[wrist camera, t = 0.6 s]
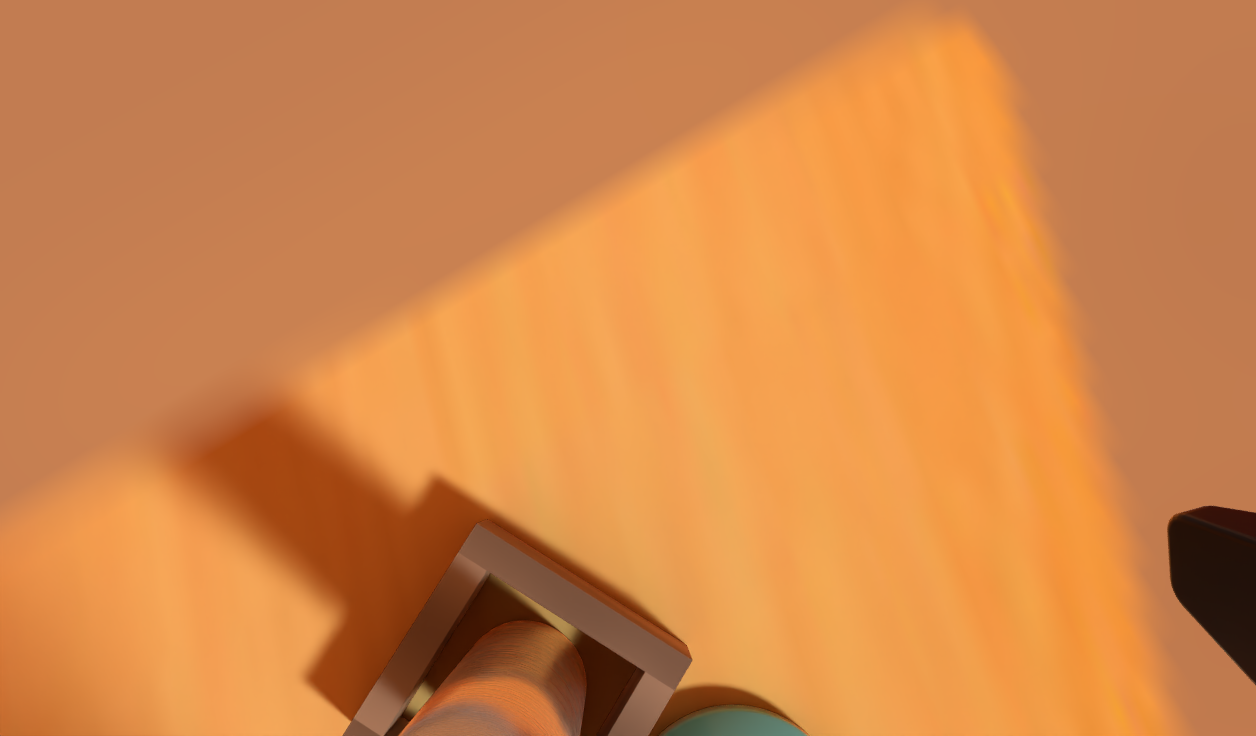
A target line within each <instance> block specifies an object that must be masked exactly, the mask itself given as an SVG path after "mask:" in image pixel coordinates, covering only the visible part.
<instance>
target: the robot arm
mask: <svg viewBox="0 0 1256 736" xmlns="http://www.w3.org/2000/svg"><path fill="white" fill-rule="evenodd" d="M1167 532H1168V549H1169V565H1170V580H1171V585H1172V588H1173V591H1174V593H1175V595H1176V597H1177V598H1178V600H1179V601H1180V603H1181V604H1182V605H1183V607H1184V608H1185V609H1186V610H1187V611H1188V612H1189V613H1190V614H1191V615H1192V616H1193V617H1194V618H1195V620H1196V621H1197V622H1198V623H1199V624H1200V625H1201V626H1202V627H1203V628H1204V629H1205V631H1206V632H1207V633H1208V634H1209V635H1210V636H1211V637H1212V638H1213V639H1214V640H1215V641H1216V642H1217V644H1218V645H1219V646H1220V647H1221V648H1222V649H1223V650H1224V651H1225V652H1226V653H1227V655H1228V656H1229V657H1230V658H1231V659H1232V660H1233V661H1234V662H1235V663H1236V664H1237V665H1238V667H1239V668H1240V669H1241V670H1242V671H1243V672H1244V673H1245V674H1246V675H1247V676H1248V677H1249V678H1250V680H1251V681H1252V682H1253V683H1254V684H1255V685H1256V513H1254V512H1248V511H1242V510H1235V509H1230V508H1223V507H1217V506H1203V507H1200V508H1196V509H1193V510H1189V511H1186V512H1181V513H1178V514H1175V515H1174V516H1173V517H1172V518H1171V519H1170V520H1169V523H1168V528H1167Z"/></svg>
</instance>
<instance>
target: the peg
mask: <svg viewBox="0 0 1256 736" xmlns="http://www.w3.org/2000/svg"><path fill="white" fill-rule="evenodd" d="M586 689H587V682H586V673H585V668H584V665H583V662H582V659H581V657H580V655H579V653H578V651H577V650H576V648H575V647H574V645H573V644H572V643H571V642H570V640H569V639H568V638H567V637H566V636H565V635H563V634H562V633H561V632H559V631H558V630H556V629H555V628H553V627H551V626H549V625H546V624H544V623H540V622H536V621H529V620H519V621H512V622H508V623H505V624H501V625H499V626H497V627H495V628H493V629H492V630H490V631H489V632H487V633H486V634H485V635H483V636H482V637H481V638H480V639H479V640H478V641H477V642H476V643H475V644H474V646H473V647H472V648H471V649H470V650H469V652H468V653H467V654H466V655H465V656H464V658H463V659H462V660H461V661H460V662H459V664H458V665H457V666H456V667H455V668H454V670H453V671H452V672H451V673H450V674H449V676H448V677H447V678H446V679H445V680H444V682H443V683H442V684H441V685H440V686H439V688H438V689H437V690H436V691H435V692H434V694H433V695H432V696H431V697H430V698H429V700H428V701H427V702H426V703H425V704H424V706H423V707H422V708H421V709H420V710H419V712H418V713H417V714H416V715H415V716H414V718H413V719H412V720H411V721H410V722H409V724H408V725H407V726H406V727H405V728H404V730H403V731H402V732H401V733H400V734H399V736H580V731H581V725H582V718H583V711H584V705H585V698H586Z"/></svg>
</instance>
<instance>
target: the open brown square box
mask: <svg viewBox="0 0 1256 736" xmlns="http://www.w3.org/2000/svg"><path fill="white" fill-rule="evenodd" d="M490 573H491V574H493V575H494V576H496V577H497V578H499V579H501V580H502V581H504V582H505V583H507V584H508V585H510V586H512V587H513V588H515V589H516V590H518V591H519V592H521V593H522V594H524V595H526V596H527V597H529V598H530V599H532V600H533V601H535V602H537V603H538V604H540V605H541V606H543V607H544V608H546V609H548V610H549V611H551V612H552V613H554V614H555V615H557V616H559V617H560V618H562V619H563V620H565V621H566V622H568V623H569V624H571V625H573V626H574V627H576V628H577V629H579V630H580V631H582V632H584V633H585V634H587V635H588V636H590V637H591V638H593V639H595V640H596V641H598V642H599V643H601V644H602V645H604V646H606V647H607V648H609V649H610V650H612V651H613V652H615V653H616V654H618V655H620V656H621V657H623V658H624V659H626V660H627V661H629V662H631V663H632V664H634V665H635V666H637V668H636V669H635V671H634V673H633V674H632V676H631V678H630V680H629V681H628V683H627V685H626V686H625V688H624V690H623V691H622V693H621V695H620V696H619V698H618V700H617V701H616V703H615V705H614V707H613V708H612V710H611V712H610V713H609V715H608V717H607V718H606V720H605V722H604V723H603V725H602V727H601V728H600V730H599V732H598V734H597V735H596V736H648V735H649V734H650V732H651V730H652V729H653V727H654V725H655V723H656V722H657V720H658V718H659V717H660V715H661V713H662V711H663V710H664V708H665V706H666V705H667V703H668V701H669V699H670V698H671V696H672V694H673V693H674V691H675V689H676V687H677V686H678V684H679V682H680V681H681V679H682V677H683V675H684V674H685V672H686V670H687V669H688V667H689V665H690V664H691V662H692V658H691V655H690V652H689V650H688V647H687V645H685V644H684V643H682V642H681V641H679V640H678V639H676V638H674V637H673V636H671V635H670V634H668V633H666V632H665V631H663V630H662V629H660V628H659V627H657V626H655V625H654V624H652V623H651V622H649V621H648V620H646V619H644V618H643V617H641V616H640V615H638V614H637V613H635V612H633V611H632V610H630V609H629V608H627V607H625V606H624V605H622V604H621V603H619V602H618V601H616V600H614V599H613V598H611V597H610V596H608V595H607V594H605V593H603V592H602V591H600V590H599V589H597V588H595V587H594V586H592V585H591V584H589V583H588V582H586V581H584V580H583V579H581V578H580V577H578V576H577V575H575V574H573V573H572V572H570V571H569V570H567V569H566V568H564V567H562V566H561V565H559V564H558V563H556V562H554V561H553V560H551V559H550V558H548V557H547V556H545V555H543V554H542V553H540V552H539V551H537V550H536V549H534V548H532V547H531V546H529V545H528V544H526V543H524V542H523V541H521V540H520V539H518V538H517V537H515V536H513V535H512V534H510V533H509V532H507V531H506V530H504V529H502V528H501V527H499V526H498V525H496V524H495V523H493V522H491V521H490V520H488V519H487V520H484V521H481V522H479V523H476V525H475V527H474V528H473V530H472V531H471V533H470V535H469V536H468V538H467V539H466V541H465V543H464V544H463V546H462V547H461V549H460V550H459V552H458V554H457V555H456V557H455V558H454V560H453V562H452V563H451V565H450V566H449V568H448V569H447V571H446V573H445V574H444V576H443V577H442V579H441V581H440V582H439V584H438V585H437V587H436V588H435V590H434V592H433V593H432V595H431V596H430V598H429V600H428V601H427V603H426V604H425V606H424V607H423V609H422V611H421V612H420V614H419V615H418V617H417V619H416V620H415V622H414V623H413V625H412V626H411V628H410V630H409V631H408V633H407V634H406V636H405V638H404V639H403V641H402V642H401V644H400V645H399V647H398V649H397V650H396V652H395V653H394V655H393V657H392V658H391V660H390V661H389V663H388V664H387V666H386V668H385V669H384V671H383V672H382V674H381V676H380V677H379V679H378V680H377V682H376V683H375V685H374V687H373V688H372V690H371V691H370V693H369V695H368V696H367V698H366V699H365V701H364V702H363V704H362V706H361V707H360V709H359V710H358V712H357V714H356V715H355V717H354V718H353V720H352V721H351V723H350V725H349V726H348V728H347V729H346V731H345V733H344V734H343V736H399V734H400V733H401V732H402V731H403V730H404V728H405V727H406V726H407V725H408V724H409V721H408V720H406V719H405V718H403V717H402V714H403V712H404V711H405V709H406V708H407V706H408V704H409V703H410V701H411V700H412V698H413V696H414V695H415V693H416V692H417V690H418V688H419V687H420V685H421V684H422V682H423V680H424V679H425V677H426V676H427V674H428V672H429V671H430V669H431V667H432V666H433V664H434V663H435V661H436V659H437V658H438V656H439V655H440V653H441V651H442V650H443V648H444V647H445V645H446V643H447V642H448V640H449V639H450V637H451V635H452V634H453V632H454V631H455V629H456V627H457V626H458V624H459V623H460V621H461V619H462V618H463V616H464V615H465V613H466V611H467V610H468V608H469V607H470V605H471V603H472V602H473V600H474V599H475V597H476V595H477V594H478V592H479V591H480V589H481V587H482V586H483V584H484V583H485V581H486V579H487V578H488V576H489V575H490Z"/></svg>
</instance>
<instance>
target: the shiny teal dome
mask: <svg viewBox="0 0 1256 736" xmlns="http://www.w3.org/2000/svg"><path fill="white" fill-rule="evenodd" d="M658 736H809V735H808V734H807V733H806V732H805V731H804V730H803V729H801V728H800V727H799V726H797V725H796V724H794V723H793V722H792V721H790V720H788V719H786V718H784V717H783V716H781V715H779V714H776V713H774V712H771V711H768V710H766V709H762V708H758V707H754V706H748V705H737V704H734V705H719V706H713V707H708V708H704V709H701V710H698V711H695V712H693V713H690V714H688V715H686V716H684V717H682V718H680V719H679V720H677V721H676V722H674V723H673V724H671V725H670V726H668V727H667V728H666V729H665V730H663V731H662V732H661V733H660V734H659V735H658Z"/></svg>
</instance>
